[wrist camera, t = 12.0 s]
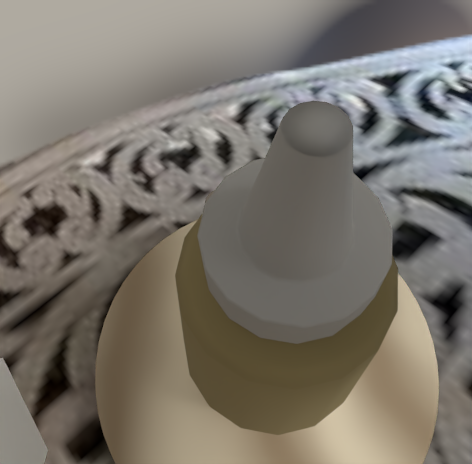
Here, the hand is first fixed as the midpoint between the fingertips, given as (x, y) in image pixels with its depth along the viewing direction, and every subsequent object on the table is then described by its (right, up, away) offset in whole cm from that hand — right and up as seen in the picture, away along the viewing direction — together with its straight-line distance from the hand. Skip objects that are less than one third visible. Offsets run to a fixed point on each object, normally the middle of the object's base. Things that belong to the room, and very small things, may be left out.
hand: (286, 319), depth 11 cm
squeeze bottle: (0, -4, +12) cm, 13 cm away
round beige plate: (0, -5, +14) cm, 14 cm away
